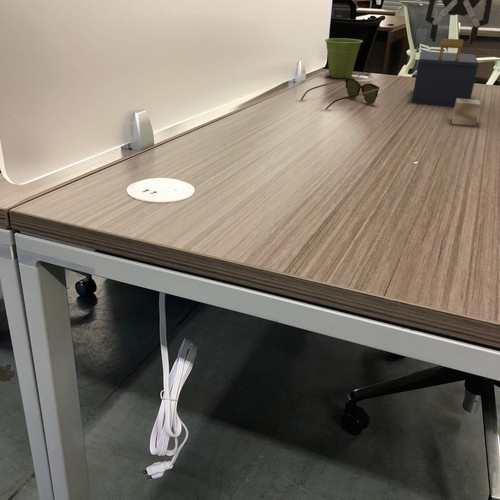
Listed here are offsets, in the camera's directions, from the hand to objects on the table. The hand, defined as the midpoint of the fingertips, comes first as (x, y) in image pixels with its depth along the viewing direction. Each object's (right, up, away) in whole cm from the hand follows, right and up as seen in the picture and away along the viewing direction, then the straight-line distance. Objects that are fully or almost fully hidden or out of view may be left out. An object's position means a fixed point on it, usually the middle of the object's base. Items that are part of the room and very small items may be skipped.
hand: (451, 42), depth 124 cm
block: (-2, -22, -11) cm, 25 cm away
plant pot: (-20, +5, +41) cm, 46 cm away
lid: (+2, -1, +8) cm, 9 cm away
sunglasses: (-27, -14, +5) cm, 31 cm away
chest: (+2, -10, +13) cm, 17 cm away
